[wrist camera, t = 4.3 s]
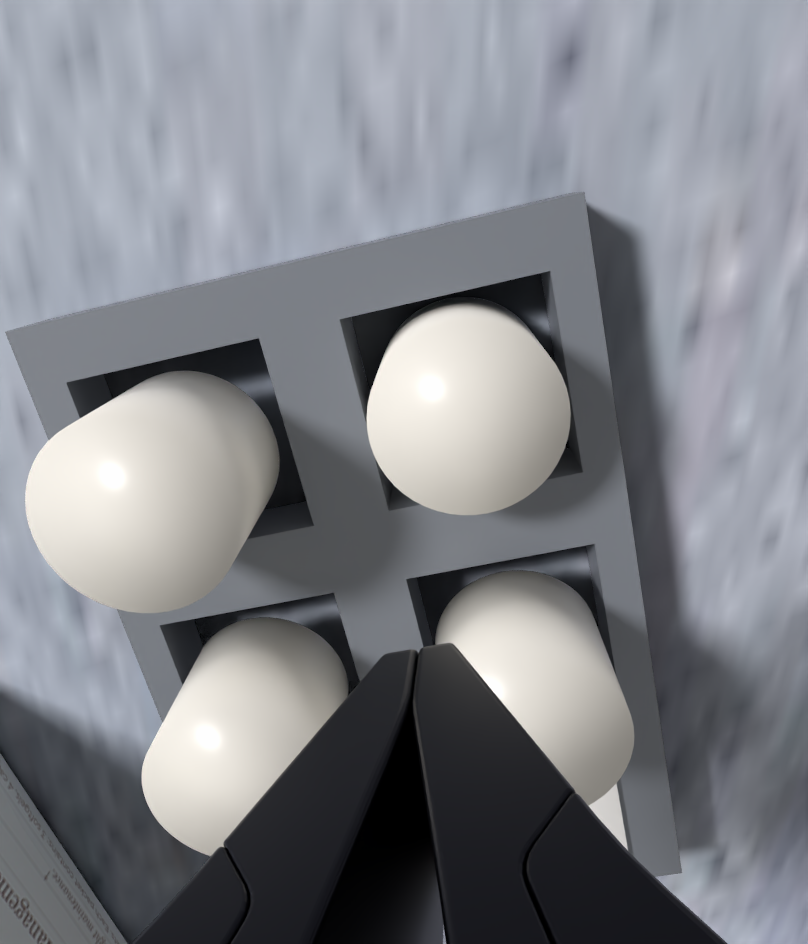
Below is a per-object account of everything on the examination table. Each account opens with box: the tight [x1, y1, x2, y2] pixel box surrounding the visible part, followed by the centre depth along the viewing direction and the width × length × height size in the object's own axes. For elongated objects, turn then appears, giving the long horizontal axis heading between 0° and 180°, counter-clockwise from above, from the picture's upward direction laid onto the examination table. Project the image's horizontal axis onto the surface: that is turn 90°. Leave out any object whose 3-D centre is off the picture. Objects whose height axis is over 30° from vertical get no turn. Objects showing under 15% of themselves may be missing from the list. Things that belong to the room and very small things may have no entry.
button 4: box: [435, 570, 634, 806], centre depth 18 cm, size 4×4×4 cm
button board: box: [5, 192, 682, 877], centre depth 21 cm, size 14×20×2 cm
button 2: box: [142, 617, 349, 856], centre depth 19 cm, size 4×4×4 cm
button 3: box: [367, 297, 571, 515], centre depth 18 cm, size 4×4×4 cm
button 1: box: [25, 371, 280, 613], centre depth 17 cm, size 4×4×4 cm
